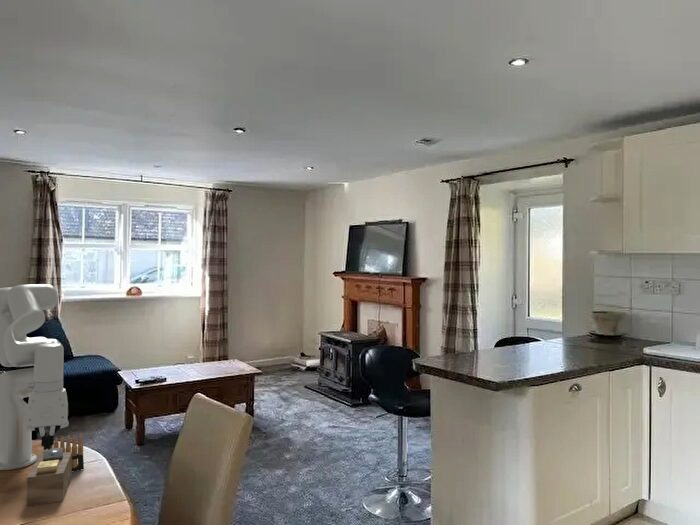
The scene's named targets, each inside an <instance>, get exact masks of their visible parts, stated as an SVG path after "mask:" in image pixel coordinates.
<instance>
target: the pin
mask: <svg viewBox="0 0 700 525" xmlns="http://www.w3.org/2000/svg"><path fill="white" fill-rule="evenodd" d="M42 455H43V461H52V460H61V459H63V449H62V448H60V447H59V448H54V447H52V449H49V450H48V449H46V450H43V452H42Z"/></svg>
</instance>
